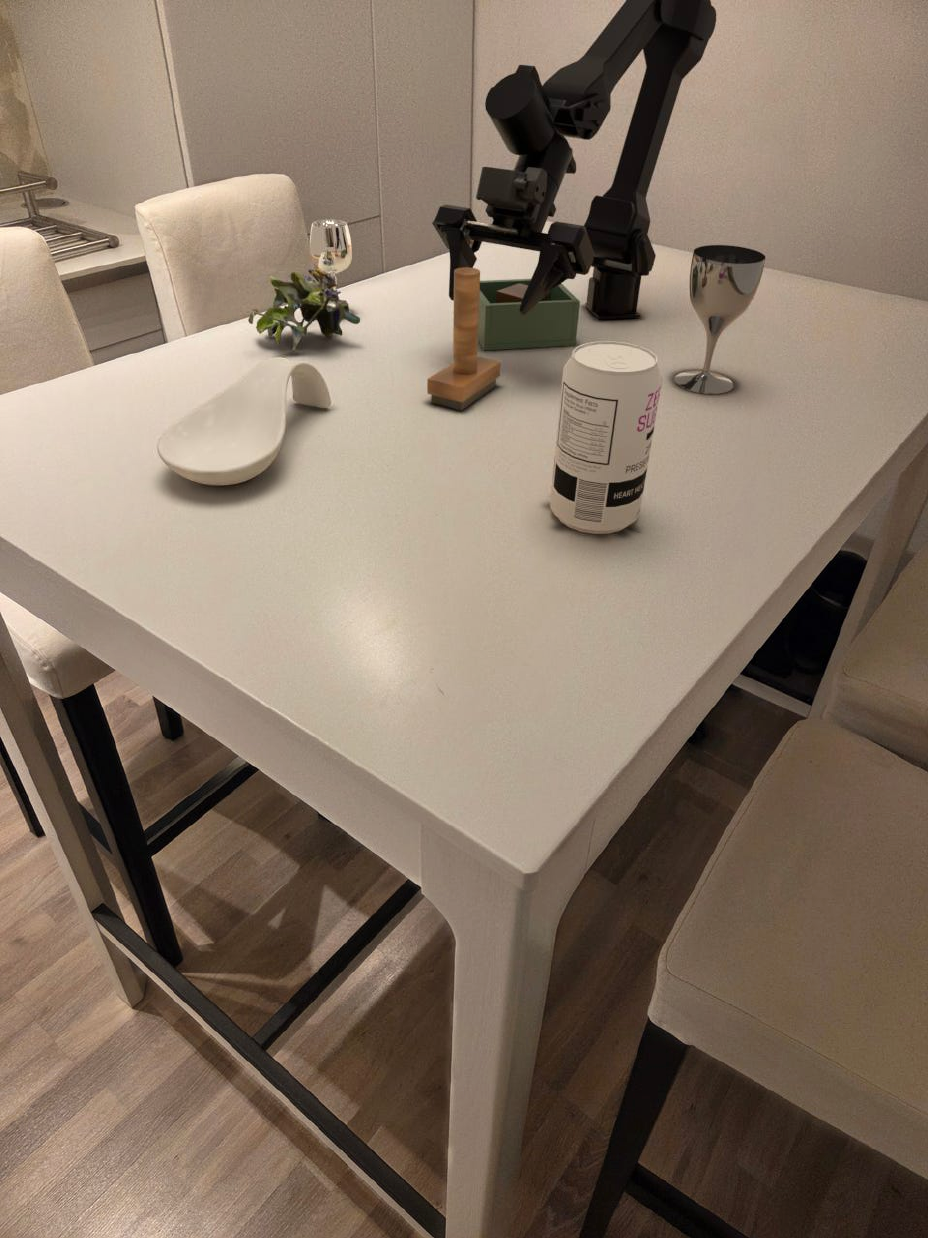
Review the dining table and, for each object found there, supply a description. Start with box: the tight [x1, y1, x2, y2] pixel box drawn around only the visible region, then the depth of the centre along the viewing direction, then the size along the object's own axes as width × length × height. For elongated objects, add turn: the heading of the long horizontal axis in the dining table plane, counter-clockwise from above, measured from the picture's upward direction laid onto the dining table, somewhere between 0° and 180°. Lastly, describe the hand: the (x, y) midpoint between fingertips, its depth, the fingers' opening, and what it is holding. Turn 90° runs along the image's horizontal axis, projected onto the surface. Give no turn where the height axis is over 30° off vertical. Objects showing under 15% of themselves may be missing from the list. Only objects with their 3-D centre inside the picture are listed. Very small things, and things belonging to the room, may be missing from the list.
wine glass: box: [674, 244, 766, 395], centre depth 101 cm, size 8×8×15 cm
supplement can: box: [549, 340, 663, 535], centre depth 75 cm, size 8×8×15 cm
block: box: [496, 283, 549, 303], centre depth 116 cm, size 5×5×5 cm
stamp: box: [426, 267, 502, 411], centre depth 97 cm, size 5×9×14 cm, turn 151°
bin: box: [478, 278, 581, 351], centre depth 116 cm, size 13×11×6 cm
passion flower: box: [247, 268, 361, 356], centre depth 111 cm, size 11×11×12 cm
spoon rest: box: [156, 356, 332, 486], centre depth 87 cm, size 24×12×7 cm, turn 160°
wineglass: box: [309, 219, 353, 313], centre depth 119 cm, size 6×6×12 cm
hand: (486, 305), depth 99 cm, fingers open, 9 cm apart
